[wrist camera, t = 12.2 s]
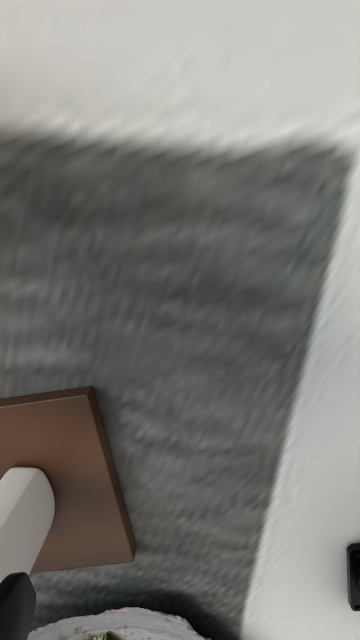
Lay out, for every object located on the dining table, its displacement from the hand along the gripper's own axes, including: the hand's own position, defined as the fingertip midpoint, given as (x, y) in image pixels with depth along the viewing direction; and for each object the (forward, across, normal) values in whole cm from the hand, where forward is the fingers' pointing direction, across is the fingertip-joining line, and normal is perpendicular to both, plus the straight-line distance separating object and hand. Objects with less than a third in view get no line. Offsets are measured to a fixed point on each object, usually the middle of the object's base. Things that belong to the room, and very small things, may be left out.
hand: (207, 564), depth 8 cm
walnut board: (+13, +13, +8) cm, 20 cm away
